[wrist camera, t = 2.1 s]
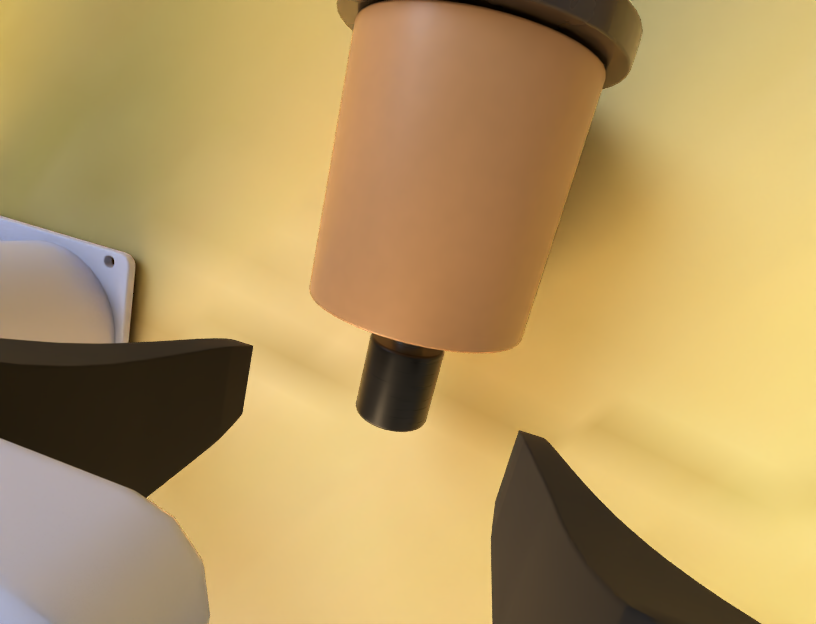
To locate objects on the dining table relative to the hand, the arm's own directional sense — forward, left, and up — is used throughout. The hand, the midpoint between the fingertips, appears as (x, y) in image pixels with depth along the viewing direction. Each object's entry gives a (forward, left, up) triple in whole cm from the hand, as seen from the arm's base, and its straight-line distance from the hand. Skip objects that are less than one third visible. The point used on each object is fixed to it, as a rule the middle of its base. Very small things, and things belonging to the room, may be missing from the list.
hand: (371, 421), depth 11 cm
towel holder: (0, +10, -3) cm, 11 cm away
